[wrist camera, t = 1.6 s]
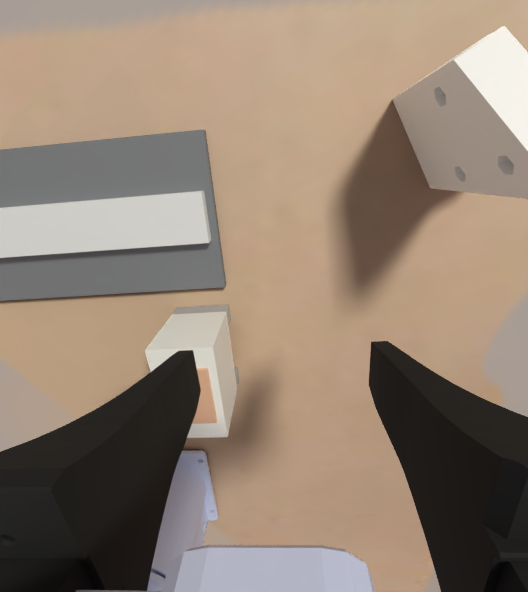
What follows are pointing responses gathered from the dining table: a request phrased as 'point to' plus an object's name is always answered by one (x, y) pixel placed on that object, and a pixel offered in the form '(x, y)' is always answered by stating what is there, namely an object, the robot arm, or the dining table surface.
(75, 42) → the dining table surface
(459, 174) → the white angled block
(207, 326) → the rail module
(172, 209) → the din rail
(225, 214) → the dining table surface
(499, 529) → the robot arm
